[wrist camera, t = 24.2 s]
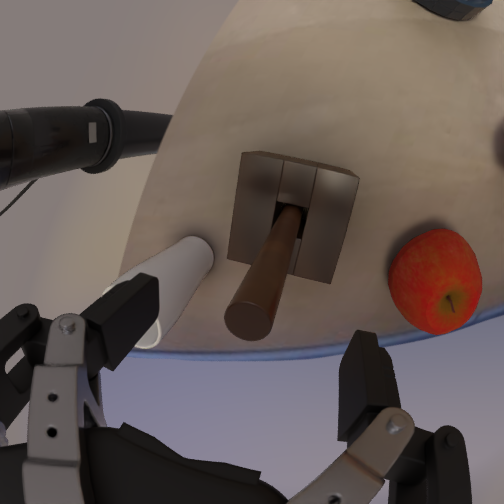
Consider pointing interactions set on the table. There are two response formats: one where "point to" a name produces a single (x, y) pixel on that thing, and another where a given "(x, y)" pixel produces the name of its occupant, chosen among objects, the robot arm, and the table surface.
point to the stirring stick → (264, 280)
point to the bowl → (456, 7)
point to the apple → (436, 281)
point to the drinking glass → (172, 282)
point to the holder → (295, 193)
